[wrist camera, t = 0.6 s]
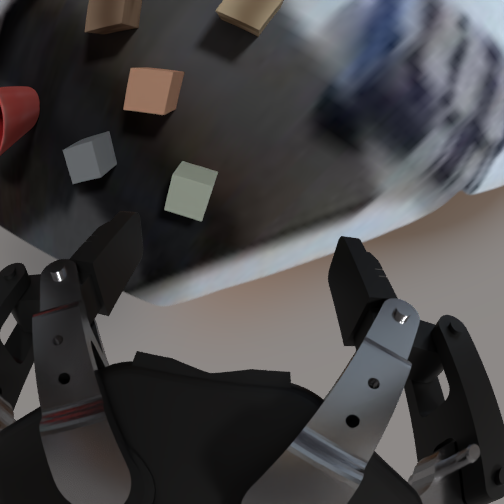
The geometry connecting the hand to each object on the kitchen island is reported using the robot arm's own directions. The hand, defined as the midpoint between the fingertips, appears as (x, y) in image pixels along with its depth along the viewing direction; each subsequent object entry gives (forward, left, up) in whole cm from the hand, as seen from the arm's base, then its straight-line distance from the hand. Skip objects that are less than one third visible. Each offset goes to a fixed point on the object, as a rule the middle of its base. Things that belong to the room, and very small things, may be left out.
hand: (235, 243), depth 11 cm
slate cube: (-20, -8, -25) cm, 33 cm away
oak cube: (-4, +14, -25) cm, 29 cm away
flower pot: (-36, -2, -26) cm, 44 cm away
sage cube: (-5, -10, -25) cm, 28 cm away
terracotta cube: (-12, +2, -25) cm, 28 cm away
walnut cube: (-20, +12, -25) cm, 34 cm away
